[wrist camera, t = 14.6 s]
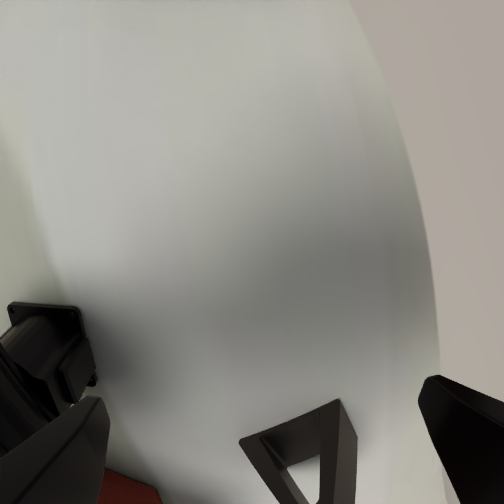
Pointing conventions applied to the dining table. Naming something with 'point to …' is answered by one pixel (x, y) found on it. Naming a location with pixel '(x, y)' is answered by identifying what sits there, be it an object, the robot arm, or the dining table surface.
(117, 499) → the plant pot
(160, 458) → the dining table surface
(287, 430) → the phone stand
